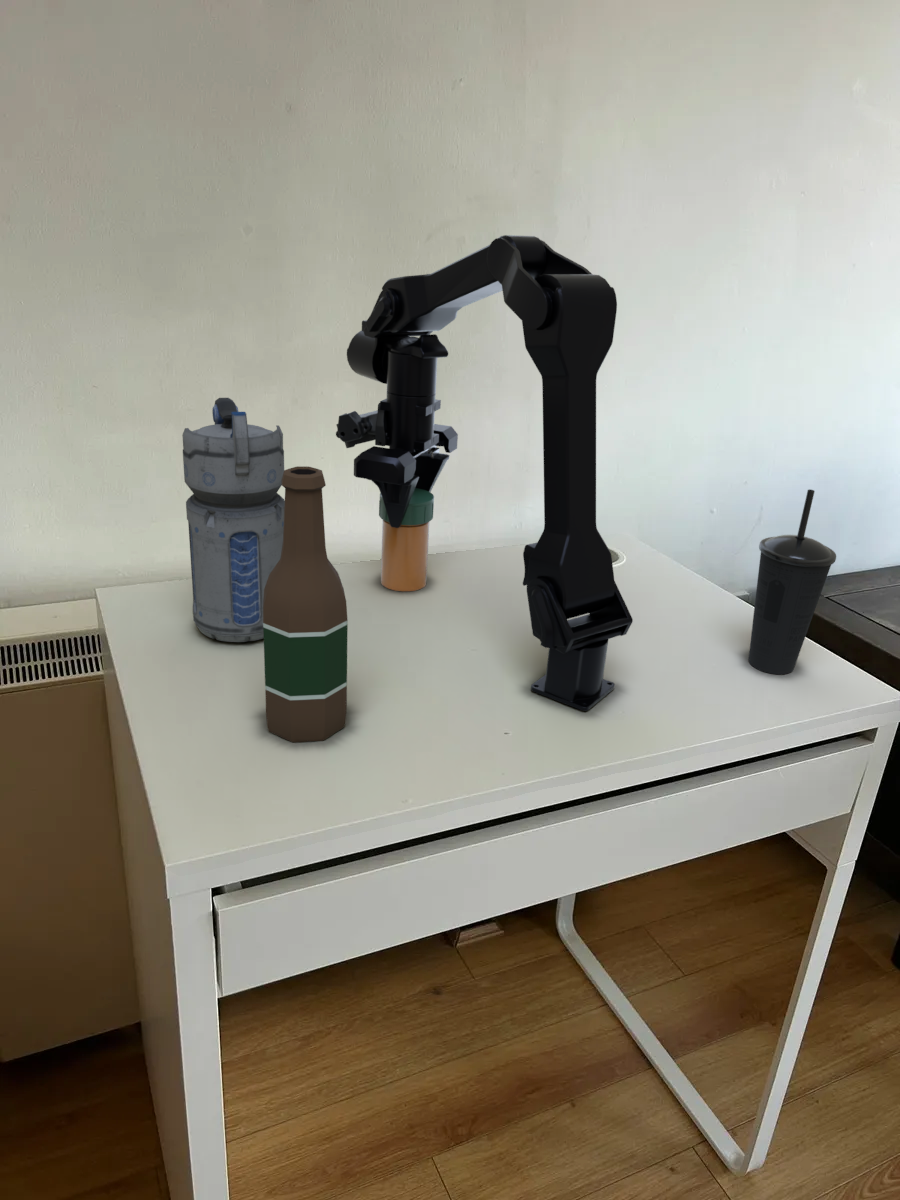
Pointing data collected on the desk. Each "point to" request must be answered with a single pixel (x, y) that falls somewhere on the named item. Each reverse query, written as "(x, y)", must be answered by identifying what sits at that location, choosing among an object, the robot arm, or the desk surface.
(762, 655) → the drinking cup
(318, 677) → the beer bottle
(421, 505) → the lid
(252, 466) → the beverage bottle
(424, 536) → the jar
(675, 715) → the desk surface
